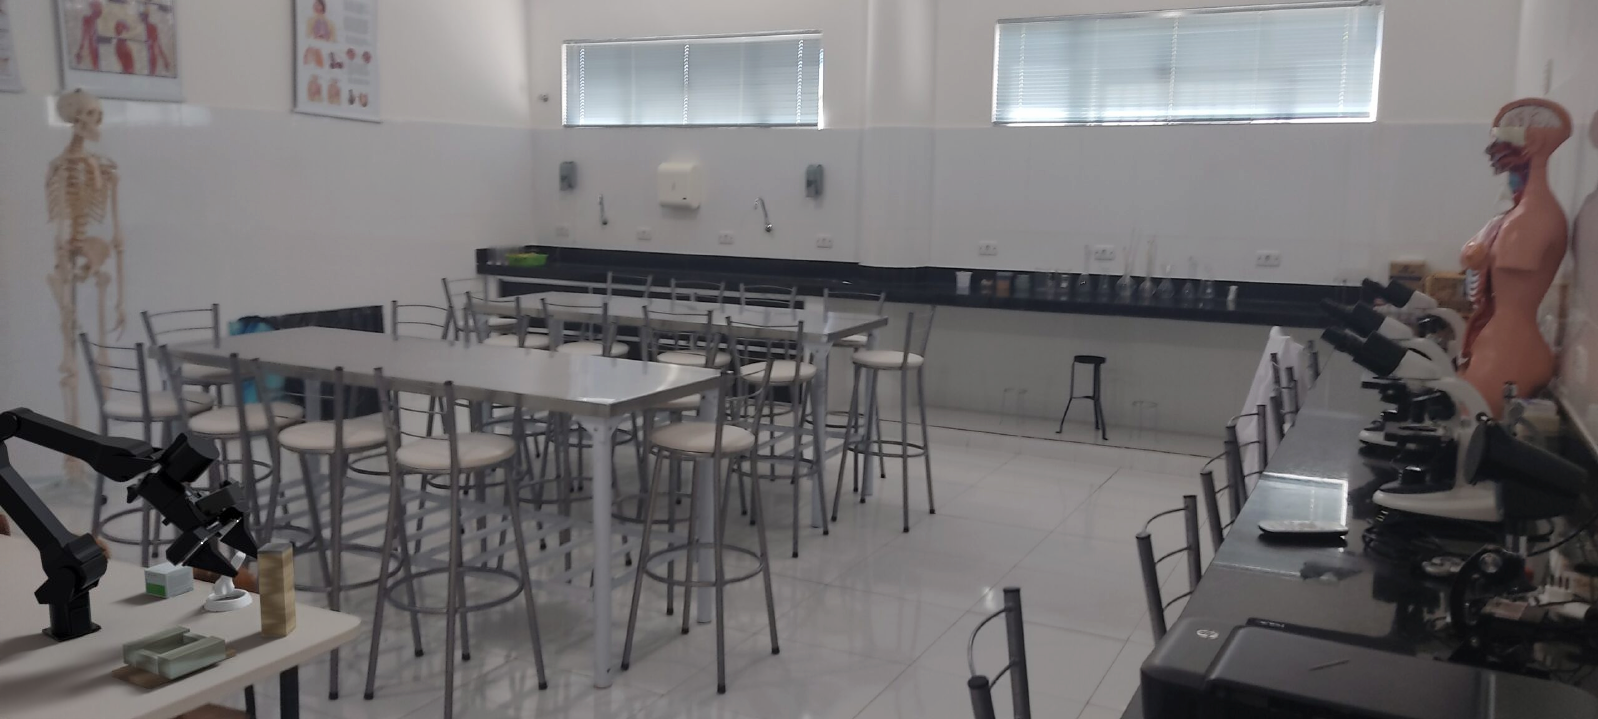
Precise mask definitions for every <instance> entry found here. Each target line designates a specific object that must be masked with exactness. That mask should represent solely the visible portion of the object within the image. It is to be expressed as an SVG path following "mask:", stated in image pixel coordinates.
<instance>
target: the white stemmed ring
mask: <svg viewBox="0 0 1598 719" xmlns="http://www.w3.org/2000/svg"><path fill="white" fill-rule="evenodd" d="M246 556H247V555H246V554H244V553H242V552H240V551H238V552H236V554H235V555H234V556H233V558H232V559H231V561H229V562H230V563H231V564H232V565H233V566H234V568H235V569H236V570H237V571H238V570H239V568H240V567H241V566H242V564H243V562H244V561H245V558H246ZM211 587H212V588H211V590H212V592H213V593H211V594H210V595H208V596H207V598H206V600H205V603H204V605H203V608H204V610H206V611H208V610H211V611H210V612H216V611H219V612H220V611H222V612H230V610H231V611H235V610H239V608H240V609H243V608H245V607H247V605H248V606H250V603H251V604H252V603H253V598H252V596H251V595H250V592H248V591H247V590H245V589H240V588H235V585H234V583H233V578H231V577H227V576H224V575H220V578H219V579H217V580H216V581H215V583H214V585H212V586H211ZM225 597H228V598H235V599H229V600H221V598H222V599H226V598H225ZM217 599H218V600H217ZM214 600H215V601H214ZM219 612H218V613H219Z"/></svg>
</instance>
